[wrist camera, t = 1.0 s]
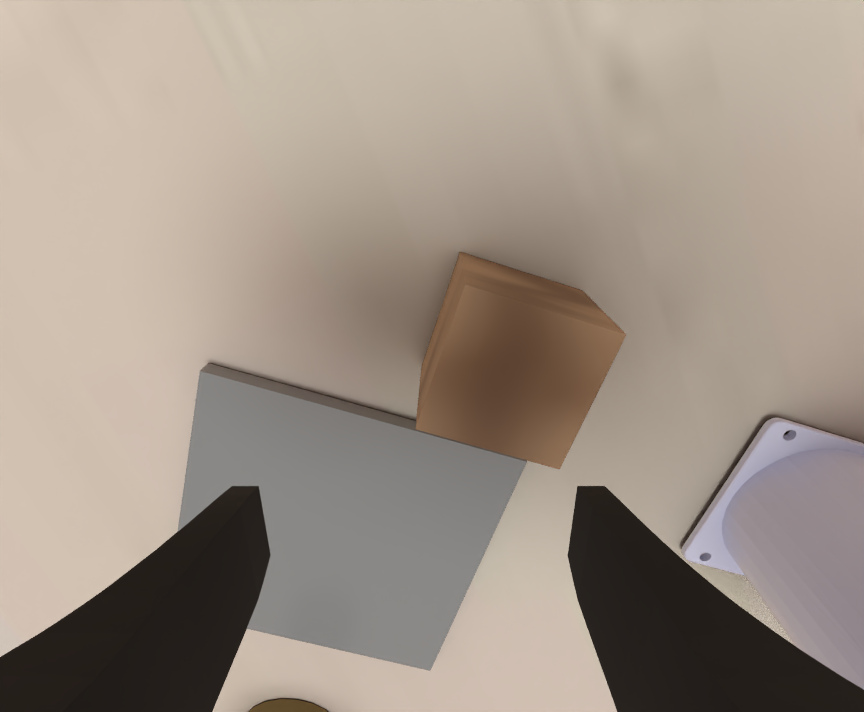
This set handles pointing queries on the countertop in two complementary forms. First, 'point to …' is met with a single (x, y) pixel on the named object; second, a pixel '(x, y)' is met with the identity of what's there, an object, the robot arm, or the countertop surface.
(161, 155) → the countertop surface
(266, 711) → the cork
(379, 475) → the slate board
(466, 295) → the walnut cube
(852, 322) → the countertop surface
